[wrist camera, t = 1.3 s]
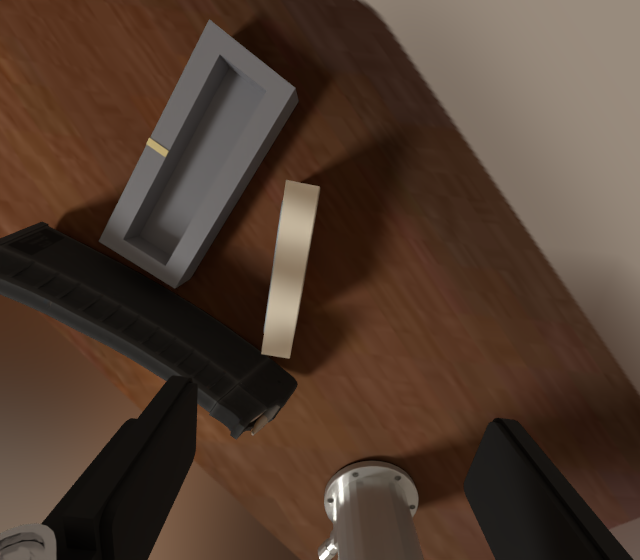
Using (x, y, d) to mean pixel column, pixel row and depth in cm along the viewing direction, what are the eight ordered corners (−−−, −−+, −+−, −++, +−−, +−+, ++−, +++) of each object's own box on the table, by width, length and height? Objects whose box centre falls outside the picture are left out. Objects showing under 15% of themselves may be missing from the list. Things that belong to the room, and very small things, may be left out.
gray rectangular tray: (190, 278, 32) (174, 289, 29) (122, 236, 31) (97, 241, 27) (298, 101, 27) (295, 87, 24) (223, 42, 26) (208, 18, 23)
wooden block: (298, 316, 33) (289, 358, 25) (275, 312, 33) (258, 353, 25) (320, 188, 29) (319, 186, 21) (294, 184, 29) (283, 179, 21)
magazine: (-97, 246, 22) (193, 531, 18) (-86, 210, 21) (219, 498, 17) (113, 246, 39) (289, 396, 35) (123, 226, 38) (304, 376, 34)
